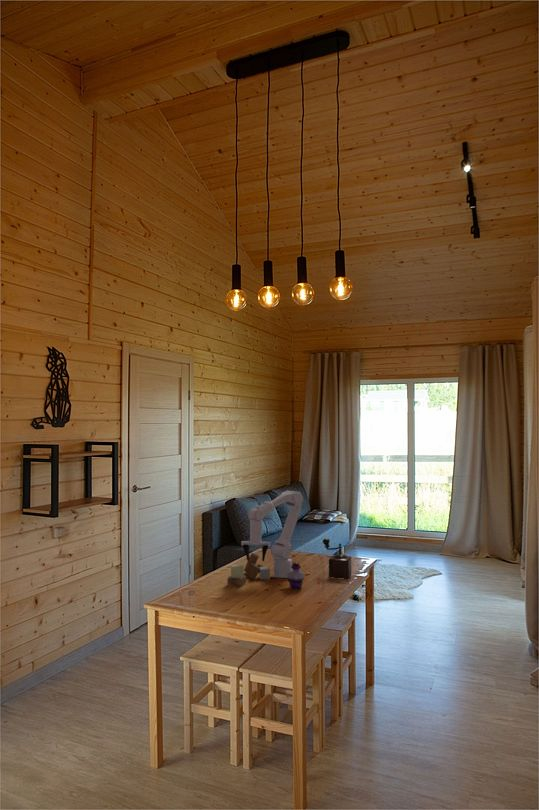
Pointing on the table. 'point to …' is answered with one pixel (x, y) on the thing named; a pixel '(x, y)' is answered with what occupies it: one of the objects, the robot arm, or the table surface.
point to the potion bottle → (295, 576)
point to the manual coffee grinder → (338, 563)
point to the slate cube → (264, 572)
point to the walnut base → (236, 581)
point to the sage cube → (237, 571)
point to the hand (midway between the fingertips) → (255, 560)
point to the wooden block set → (252, 566)
